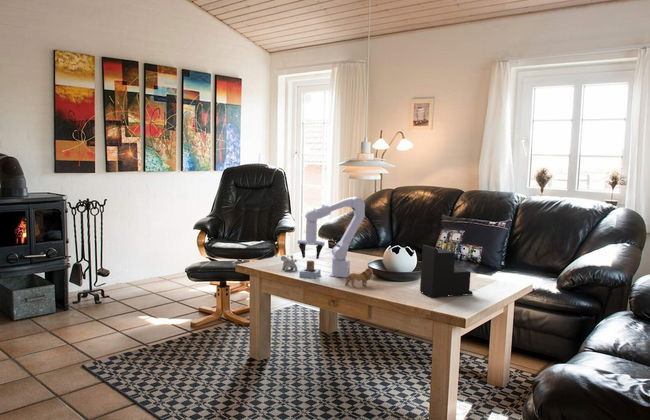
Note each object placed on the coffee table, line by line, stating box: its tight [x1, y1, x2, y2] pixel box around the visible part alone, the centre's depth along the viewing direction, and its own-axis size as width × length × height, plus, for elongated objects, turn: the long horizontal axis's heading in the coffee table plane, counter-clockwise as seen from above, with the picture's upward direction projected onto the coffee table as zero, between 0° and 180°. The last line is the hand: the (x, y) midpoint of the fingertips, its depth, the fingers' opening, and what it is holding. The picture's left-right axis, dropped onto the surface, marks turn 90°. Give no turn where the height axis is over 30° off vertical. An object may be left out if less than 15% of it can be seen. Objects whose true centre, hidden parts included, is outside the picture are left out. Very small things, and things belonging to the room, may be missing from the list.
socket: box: [299, 267, 321, 279], centre depth 284 cm, size 9×9×3 cm
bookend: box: [419, 244, 474, 298], centre depth 254 cm, size 23×11×24 cm, turn 111°
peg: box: [306, 260, 315, 272], centre depth 283 cm, size 4×4×8 cm
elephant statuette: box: [280, 254, 298, 272], centre depth 298 cm, size 9×12×8 cm
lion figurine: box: [344, 267, 374, 288], centre depth 264 cm, size 15×5×9 cm, turn 107°
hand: (310, 258), depth 283 cm, fingers open, 7 cm apart
